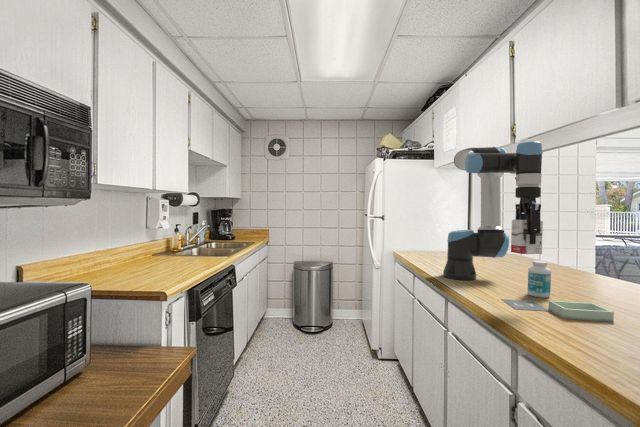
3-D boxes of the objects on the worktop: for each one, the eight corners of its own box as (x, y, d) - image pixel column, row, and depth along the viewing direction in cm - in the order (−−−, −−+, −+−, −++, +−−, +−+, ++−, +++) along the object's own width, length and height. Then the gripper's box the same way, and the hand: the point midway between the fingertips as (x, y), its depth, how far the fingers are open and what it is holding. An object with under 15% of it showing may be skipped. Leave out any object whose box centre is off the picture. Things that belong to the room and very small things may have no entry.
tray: (548, 309, 110) (548, 300, 110) (592, 312, 108) (593, 303, 108) (564, 318, 101) (565, 309, 101) (613, 321, 99) (613, 312, 99)
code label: (501, 299, 121) (501, 299, 121) (533, 301, 120) (533, 300, 120) (515, 309, 110) (515, 308, 110) (551, 311, 108) (551, 311, 108)
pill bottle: (523, 294, 130) (524, 260, 129) (534, 292, 133) (535, 259, 132) (542, 299, 123) (543, 263, 122) (554, 297, 126) (555, 262, 126)
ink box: (520, 254, 111) (521, 220, 111) (510, 252, 116) (511, 219, 116) (542, 254, 113) (543, 220, 112) (531, 252, 117) (532, 219, 117)
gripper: (505, 188, 124) (503, 248, 124) (529, 184, 105) (527, 255, 106) (526, 188, 123) (525, 249, 123) (554, 184, 104) (552, 256, 104)
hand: (526, 252), depth 114 cm, fingers closed on ink box, 6 cm apart
